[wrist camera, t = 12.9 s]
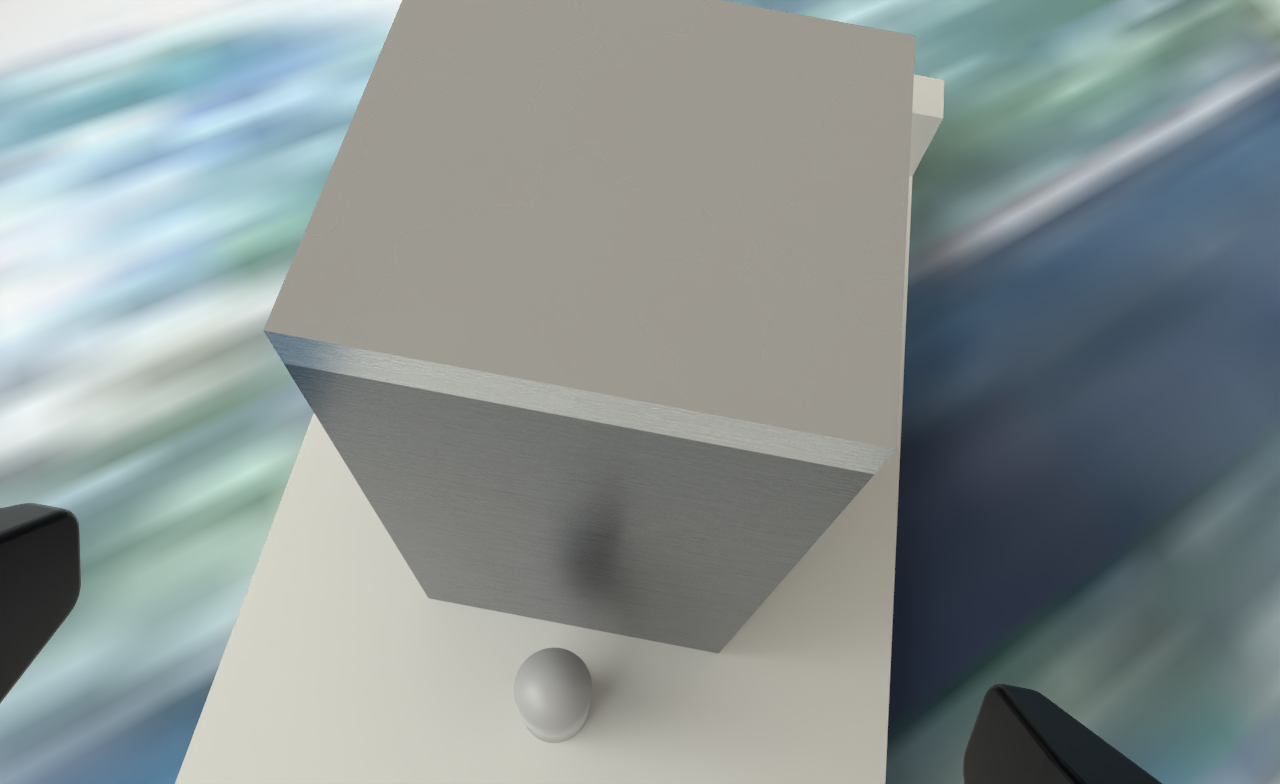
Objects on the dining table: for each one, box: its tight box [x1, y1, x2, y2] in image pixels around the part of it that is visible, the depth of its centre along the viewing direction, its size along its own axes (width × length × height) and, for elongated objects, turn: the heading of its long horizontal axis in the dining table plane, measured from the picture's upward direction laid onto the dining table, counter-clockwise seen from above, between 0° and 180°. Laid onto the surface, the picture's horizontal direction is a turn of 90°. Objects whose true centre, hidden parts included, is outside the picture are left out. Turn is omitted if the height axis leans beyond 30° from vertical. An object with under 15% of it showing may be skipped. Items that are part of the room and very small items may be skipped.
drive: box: [264, 0, 916, 654], centre depth 13 cm, size 5×6×10 cm
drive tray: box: [175, 75, 944, 784], centre depth 17 cm, size 22×12×4 cm, turn 170°
